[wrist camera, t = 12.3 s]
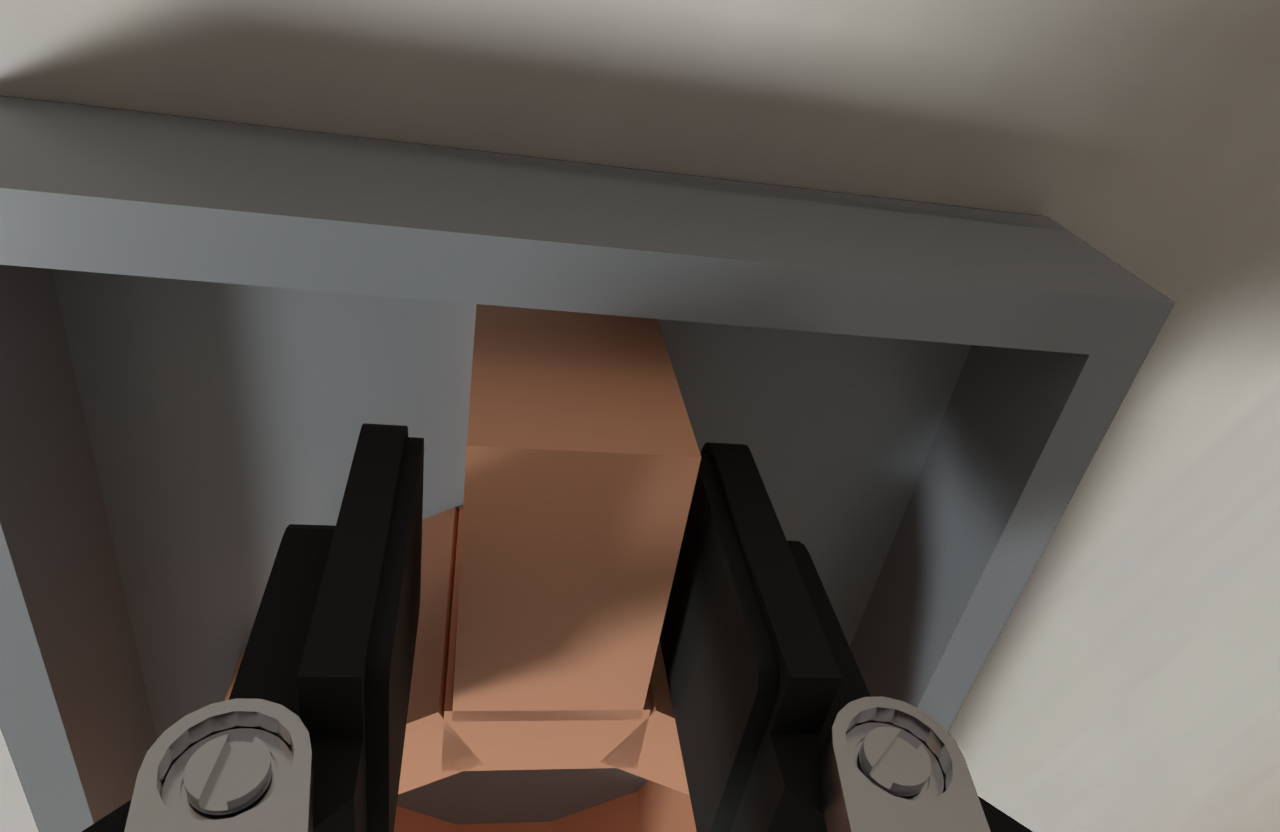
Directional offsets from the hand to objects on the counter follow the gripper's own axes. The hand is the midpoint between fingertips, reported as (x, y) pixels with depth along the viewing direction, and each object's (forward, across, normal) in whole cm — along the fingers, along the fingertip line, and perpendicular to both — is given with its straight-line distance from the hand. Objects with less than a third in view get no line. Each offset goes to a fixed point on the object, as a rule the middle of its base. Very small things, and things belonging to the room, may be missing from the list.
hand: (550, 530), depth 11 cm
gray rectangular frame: (+3, 0, +5) cm, 6 cm away
